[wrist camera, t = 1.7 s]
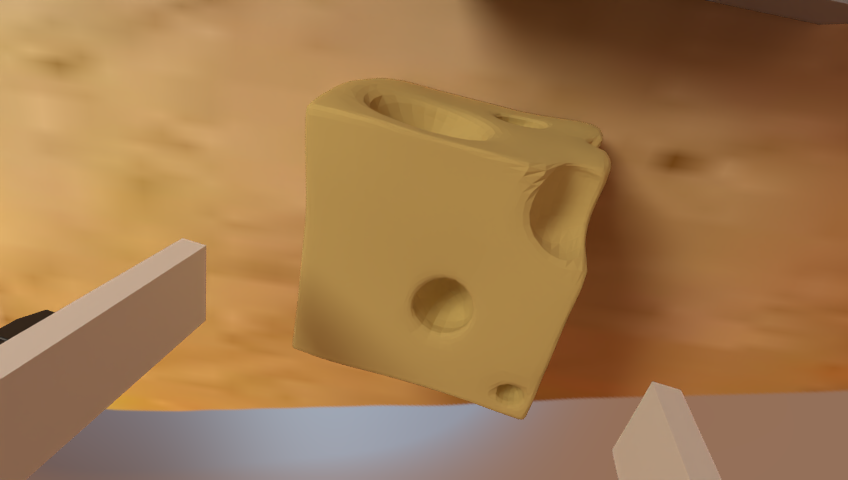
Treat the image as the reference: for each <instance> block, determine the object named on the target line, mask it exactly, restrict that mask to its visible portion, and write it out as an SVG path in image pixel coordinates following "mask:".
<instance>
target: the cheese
mask: <svg viewBox="0 0 848 480" xmlns="http://www.w3.org/2000/svg"><path fill="white" fill-rule="evenodd" d="M602 139H603V138H602V132H601V130H600V129H599V128H598V127H596V126H594V125H592V124H588V123H584V122H580V121H575V120H568V119H562V118H555V117H549V116H542V115H536V114H531V113H526V112H522V111H517V110H513V109H509V108H505V107H502V106H498V105H494V104H490V103H486V102H482V101H478V100H474V99H471V98H467V97H463V96H459V95H455V94H451V93H447V92H443V91H439V90H436V89H432V88H429V87H425V86H421V85H418V84H414V83H411V82H407V81H403V80H395V79H388V78H374V79H363V80H355V81H349V82H346V83H343V84H341V85H338V86H336V87H334V88H333V89H331V90H329V91H327V92H325V93H323V94H322V95H320V96H319V97H318V98H316V99H315V100H314V101H312V102H311V103H310V104H309V105H308V106H307V110H306V119H305V156H306V216H305V228H304V239H303V249H302V260H301V271H300V281H299V293H298V302H297V311H296V320H295V328H294V336H293V347H294V348H295V349H298V350H300V351H303V352H306V353H309V354H311V355H314V356H317V357H319V358H323V359H326V360H329V361H333V362H336V363H339V364H343V365H346V366H350V367H354V368H358V369H362V370H366V371H370V372H374V373H377V374H381V375H385V376H389V377H392V378H396V379H399V380H403V381H406V382H410V383H413V384H416V385H420V386H423V387H426V388H430V389H433V390H436V391H439V392H442V393H445V394H449V395H452V396H455V397H458V398H461V399H464V400H466V401H469V402H472V403H475V404H478V405H480V406H483V407H486V408H488V409H491V410H494V411H497V412H500V413H503V414H505V415H508V416H511V417H514V418H517V419H524V418H525V417H526V415H527V413H528V410H529V408H530V406H531V404H532V402H533V400H534V397H535V395H536V392H537V390H538V387H539V385H540V382H541V380H542V378H543V375H544V373H545V371H546V369H547V367H548V364H549V362H550V359H551V357H552V354H553V352H554V350H555V347H556V345H557V342H558V340H559V337H560V335H561V332H562V330H563V328H564V325H565V323H566V321H567V319H568V317H569V315H570V312H571V310H572V308H573V306H574V304H575V302H576V300H577V298H578V295H579V293H580V291H581V289H582V285H583V282H584V279H585V276H586V274H587V256H586V247H585V245H586V234H587V229H588V224H589V221H590V218H591V215H592V212H593V210H594V207H595V205H596V203H597V201H598V198H599V196H600V194H601V192H602V190H603V188H604V186H605V184H606V181H607V179H608V176H609V173H610V170H611V160H610V158H609V156H608V154H607V153H606V152H605V151H604V150H601V149H599V147H600V145H601V142H602Z"/></svg>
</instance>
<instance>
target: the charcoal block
mask: <svg viewBox="0 0 848 480" xmlns="http://www.w3.org/2000/svg"><path fill="white" fill-rule="evenodd" d="M707 1H711V2H716V3H721V4H725V5H730V6H735V7H740V8H744V9H749V10H754V11H758V12H763V13H768V14H772V15H777V16H782V17H787V18H791V19H796V20H801V21H805V22H810V23H815V24H848V0H707Z"/></svg>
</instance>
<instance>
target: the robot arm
mask: <svg viewBox="0 0 848 480" xmlns="http://www.w3.org/2000/svg"><path fill="white" fill-rule="evenodd" d="M205 320H206V245H203V244H200V243H197V242H193V241H190V240H187V239H183V238H182V239H180V240H178V241H177V242H175V243H173V244H172V245H170V246H168V247H166V248H165V249H163V250H161V251H160V252H158V253H156V254H154V255H153V256H151V257H149V258H148V259H146V260H144V261H142V262H141V263H139V264H137V265H136V266H134V267H132V268H131V269H129V270H127V271H125V272H124V273H122V274H120V275H119V276H117V277H115V278H113V279H112V280H110V281H108V282H107V283H105V284H103V285H101V286H100V287H98V288H96V289H95V290H93V291H91V292H89V293H88V294H86V295H84V296H83V297H81V298H79V299H77V300H76V301H74V302H72V303H71V304H69V305H67V306H65V307H64V308H62V309H60V310H59V311H57V312H52V311H49V310H44V311H41V312H38V313H35V314H32V315H29V316H25V317H22V318H19V319H16V320H15V321H13V322H11V323H9V324H7V325H6V326H4V327H2V328H0V480H26V479H27V478H28V477H29V476H30V475H31V474H32V473H34V472H35V471H36V470H37V469H38V468H39V467H40V466H42V465H43V464H44V463H45V462H46V461H47V460H48V459H50V458H51V457H52V456H53V455H54V454H55V453H56V452H57V451H59V450H60V449H61V448H62V447H63V446H64V445H65V444H66V443H68V442H69V441H70V440H71V439H72V438H73V437H74V436H75V435H77V434H78V433H79V432H80V431H81V430H82V429H83V428H84V427H86V426H87V425H88V424H89V423H90V422H91V421H92V420H94V419H95V418H96V417H97V416H98V415H99V414H100V413H101V412H103V411H104V410H105V409H106V408H107V407H108V406H109V405H111V404H112V403H113V402H114V401H115V400H116V399H117V398H118V397H120V396H121V395H122V394H123V393H124V392H125V391H126V390H127V389H129V388H130V387H131V386H132V385H133V384H134V383H135V382H136V381H138V380H139V379H140V378H141V377H142V376H143V375H144V374H145V373H147V372H148V371H149V370H150V369H151V368H152V367H153V366H155V365H156V364H157V363H158V362H159V361H160V360H161V359H162V358H164V357H165V356H166V355H167V354H168V353H169V352H170V351H171V350H173V349H174V348H175V347H176V346H177V345H178V344H179V343H180V342H182V341H183V340H184V339H185V338H186V337H187V336H188V335H190V334H191V333H192V332H193V331H194V330H195V329H196V328H197V327H199V326H200V325H201V324H202V323H203V322H204V321H205ZM612 453H613V458H614V462H615V467H616V471H617V476H618V480H722V479H721V477H720V475H719V473H718V470H717V468H716V466H715V464H714V462H713V459H712V457H711V455H710V453H709V451H708V448H707V446H706V444H705V442H704V440H703V437H702V435H701V433H700V431H699V429H698V426H697V425H696V422H695V420H694V418H693V415H692V414H691V411H690V409H689V407H688V405H687V402H686V400H685V398H684V396H683V393H682V391H681V390H679V389H676V388H673V387H669V386H666V385H663V384H660V383H656V382H653V381H652V383H651V385H650V386H649V388H648V390H647V391H646V393H645V395H644V396H643V398H642V400H641V402H640V403H639V405H638V407H637V408H636V410H635V412H634V413H633V415H632V417H631V418H630V420H629V422H628V424H627V425H626V427H625V429H624V431H623V432H622V434H621V435H620V437H619V439H618V441H617V442H616V444H615V446H614V447H613V449H612Z"/></svg>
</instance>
